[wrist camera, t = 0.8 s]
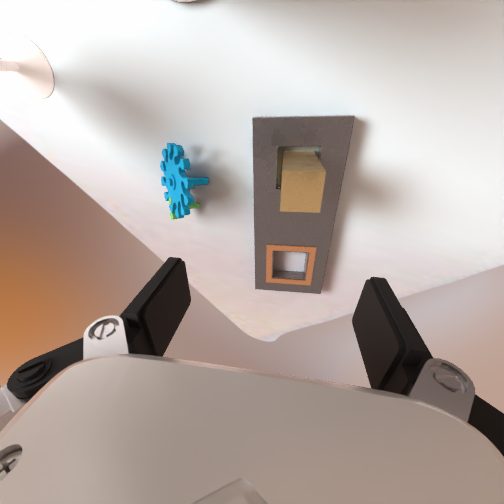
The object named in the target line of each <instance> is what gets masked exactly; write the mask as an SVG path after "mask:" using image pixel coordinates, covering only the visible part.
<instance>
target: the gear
mask: <svg viewBox="0 0 504 504" xmlns="http://www.w3.org/2000/svg"><path fill="white" fill-rule="evenodd" d="M162 154H163V157H164V160H165V161H161V165H160V167H161V170H162V171H163V172H164V175H165V177H161V181H162V185H163V186H166V187H167V189H168V192H165V193H164V195H165V199H166V201H169V203H170V205H169V208H170V210H171V213H170V216H171V219H178V218H184V215H189V214H190V210H189V209H192V208H199V203H196V204H193V202H194V198H193V196H192V195H191V194H190V192H189V191H190V188H193V187H194V185H207V184H209V179H208V178H189V176H186V174H185V170H190V162H189V159H186V158H181V156H183V155H184V150H183V148H182V146H181V145H176V144H174V143H167V149H163V151H162ZM180 158H181V160H180Z"/></svg>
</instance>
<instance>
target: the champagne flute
mask: <svg viewBox="0 0 504 504" xmlns="http://www.w3.org/2000/svg"><path fill="white" fill-rule="evenodd" d="M2 57H3V59H1V58H0V70H2V71H8V73H9V75H10V76H11V78H12V79H13V81H14V82H15V83H16V84H17V85H18V86H19V87H20V88H21V89H22V90H23V91H24V92H25V93H27V94H28V95H30V96H32V97H34V98H38V99H44V98H47V97H49V96H50V95H51V93H52V91H53V87H54V78H53V73H52V70H51V67H50V65H49V62H48V61H47V59H46V57H45V55H44V54H43V53H42V51H41V50H40V49H39V48H38V47H37V46H36V45H35V44H34V43H33V42H32V41H31V40H29V39H28V38H26V37H24V36H22V35H19V34H11V35H9V36H7V37H6V38H5V39H4V41H3V44H2Z"/></svg>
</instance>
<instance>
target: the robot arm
mask: <svg viewBox="0 0 504 504" xmlns="http://www.w3.org/2000/svg"><path fill="white" fill-rule="evenodd" d="M174 1H178V2H192V1H195V0H174ZM190 302H191V296H190V290H189V284H188V278H187V272H186V266H185V262H184V261H182V259H181V258H174V257H169V258H168V259H167V261H166V262H165V263H164V264H163V265H162V266H161V268H160V269H159V270H158V271H157V272H156V274H155V275H154V276H153V277H152V278H151V280H150V281H149V282H148V283H147V284H146V285H145V286H144V288H143V289H142V290H141V291H140V292H139V294H138V295H137V296H136V297H135V298H134V300H133V301H132V302H131V303H130V304H129V305H128V307H127V308H126V309H125V310H124V311H123V313H122V314H121V315H120V316H119V317H118V316H106V317H102V318H100V319H98V320H96V321H95V322H93V323H92V324H91V325H90V326H88V327H87V329H86V331H85V333H84V337H83V338H81V339H79V340H76V341H74V342H71V343H69V344H67V345H64V346H62V347H60V348H57V349H55V350H53V351H50V352H48V353H46V354H43V355H40V356H38V357H36V358H33V359H32V360H29V361H28V362H26V363H24V364H23V365H21V366H20V367H19V368H18V369H17V370H16V371H14V372H13V374H12V375H11V376H10V378H9V380H8V383H7V384H5V385H4V386H2V387H1V386H0V504H504V414H503V413H502V412H500V411H499V410H497V409H496V408H495V407H493V406H492V405H490V404H489V403H487V402H486V401H484V400H483V399H481V398H480V397H478V396H477V395H475V387H474V384H473V382H472V381H471V379H470V378H469V377H468V375H467V374H466V373H464V372H463V371H462V370H461V369H460V368H458V367H457V366H455V365H454V364H452V363H450V362H448V361H445V360H442V359H437V358H433V357H432V355H431V353H430V352H429V350H428V348H427V347H426V345H425V344H424V341H423V340H422V338H421V336H420V334H419V333H418V331H417V329H416V328H415V326H414V324H413V323H412V321H411V319H410V317H409V316H408V314H407V312H406V311H405V309H404V308H402V306H401V305H400V303H399V301H398V299H397V298H396V296H395V294H394V292H393V291H392V289H391V287H390V285H389V284H388V282H387V280H386V279H385V278H378V277H371V278H370V280H366V282H365V285H364V288H363V290H362V293H361V296H360V299H359V301H358V304H357V307H356V310H355V312H354V315H353V319H352V323H353V327H354V331H355V334H356V338H357V341H358V344H359V348H360V351H361V355H362V358H363V361H364V365H365V368H366V372H367V375H368V378H369V382H370V385H371V388H372V389H371V388H366V387H360V386H354V385H348V384H342V383H335V382H329V381H323V380H316V379H310V378H303V377H297V376H291V375H284V374H277V373H270V372H264V371H258V370H251V369H244V368H238V367H231V366H224V365H217V364H210V363H204V362H197V361H190V360H183V359H175V358H168V357H162V356H163V355H164V353H165V351H166V349H167V347H168V345H169V343H170V341H171V339H172V337H173V336H174V334H175V332H176V330H177V328H178V326H179V324H180V322H181V320H182V318H183V317H184V315H185V313H186V311H187V309H188V307H189V305H190Z"/></svg>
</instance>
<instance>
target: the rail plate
mask: <svg viewBox="0 0 504 504" xmlns="http://www.w3.org/2000/svg"><path fill="white" fill-rule="evenodd" d="M354 118H355V116H352V115H339V116H285V117H253V173H254V233H255V289H263V290H276V291H290V292H303V293H316V294H320V293H321V288H322V283H323V277H324V272H325V267H326V262H327V257H328V252H329V246H330V241H331V236H332V231H333V226H334V221H335V216H336V210H337V205H338V200H339V195H340V190H341V185H342V179H343V174H344V169H345V164H346V159H347V154H348V148H349V143H350V138H351V133H352V128H353V123H354ZM278 146H320V152H319V160H320V162H321V164H322V166H323V167H324V169H325V171H326V176H325V182H324V189H323V195H322V202H321V209H320V213H312V212H281V211H280V202H281V185H277V163H278ZM274 251H286V252H304V253H306V259H305V266H304V272H293V271H277V270H273V267H274Z"/></svg>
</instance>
